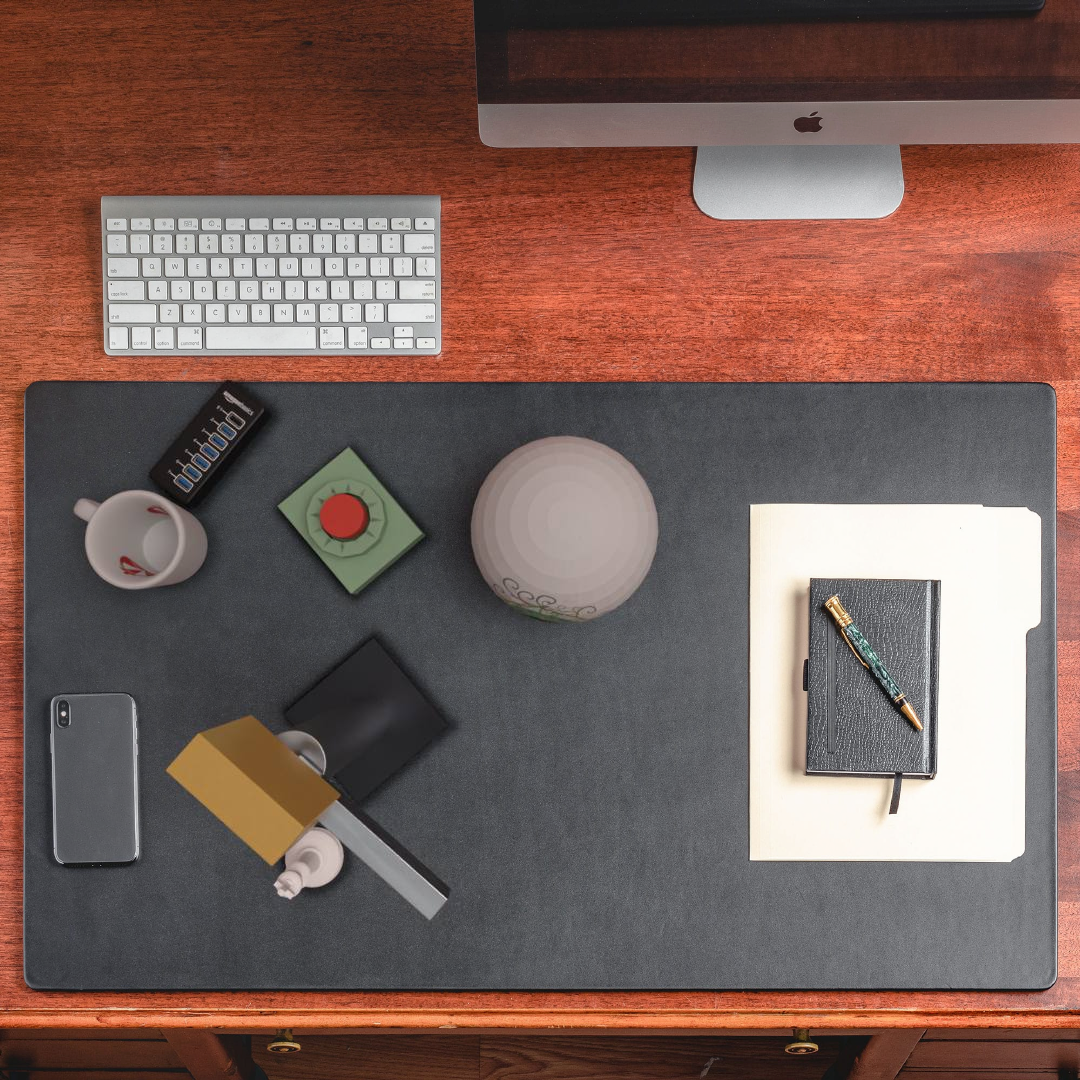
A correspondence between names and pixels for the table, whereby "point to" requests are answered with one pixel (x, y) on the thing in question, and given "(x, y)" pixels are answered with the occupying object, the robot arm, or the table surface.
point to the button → (343, 516)
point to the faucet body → (363, 721)
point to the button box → (381, 536)
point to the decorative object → (564, 529)
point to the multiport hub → (210, 444)
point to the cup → (142, 540)
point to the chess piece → (310, 862)
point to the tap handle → (292, 806)
